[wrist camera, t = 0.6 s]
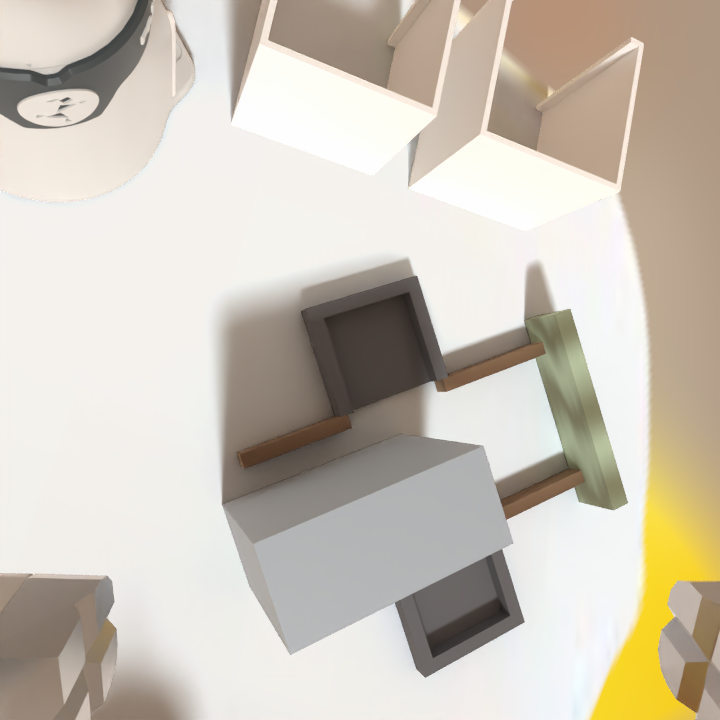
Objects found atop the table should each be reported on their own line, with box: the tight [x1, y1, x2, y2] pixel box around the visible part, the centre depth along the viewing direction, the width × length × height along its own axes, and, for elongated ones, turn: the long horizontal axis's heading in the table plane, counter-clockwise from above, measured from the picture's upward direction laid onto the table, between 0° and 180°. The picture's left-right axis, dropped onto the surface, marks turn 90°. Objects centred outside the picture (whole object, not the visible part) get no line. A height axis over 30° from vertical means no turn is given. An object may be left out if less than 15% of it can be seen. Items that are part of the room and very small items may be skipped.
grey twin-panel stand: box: [231, 0, 644, 231], centre depth 44 cm, size 25×11×11 cm, turn 77°
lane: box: [237, 309, 628, 520], centre depth 46 cm, size 16×27×4 cm, turn 109°
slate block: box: [222, 434, 513, 655], centre depth 39 cm, size 6×14×12 cm, turn 109°
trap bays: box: [301, 276, 524, 678], centre depth 46 cm, size 28×9×2 cm, turn 19°
